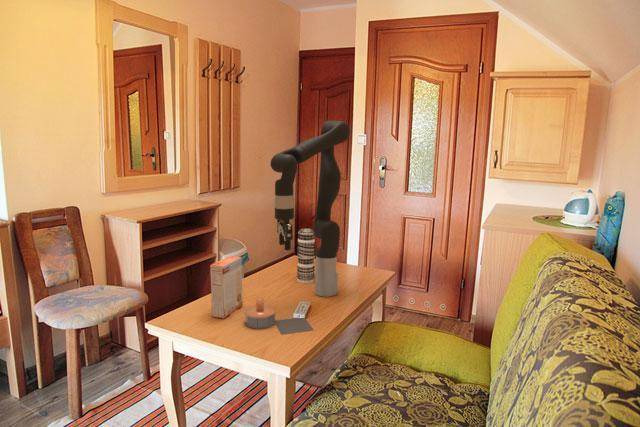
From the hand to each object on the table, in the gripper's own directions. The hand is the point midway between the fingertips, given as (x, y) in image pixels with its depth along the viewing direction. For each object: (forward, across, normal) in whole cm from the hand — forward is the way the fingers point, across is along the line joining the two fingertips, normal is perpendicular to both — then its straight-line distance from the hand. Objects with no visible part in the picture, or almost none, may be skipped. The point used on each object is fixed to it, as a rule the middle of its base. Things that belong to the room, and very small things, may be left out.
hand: (284, 247), depth 169 cm
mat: (+26, -17, +2) cm, 31 cm away
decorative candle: (+26, +32, -19) cm, 45 cm away
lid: (+21, -11, +12) cm, 27 cm away
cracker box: (+26, +4, +22) cm, 34 cm away
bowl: (+25, -11, +13) cm, 30 cm away
